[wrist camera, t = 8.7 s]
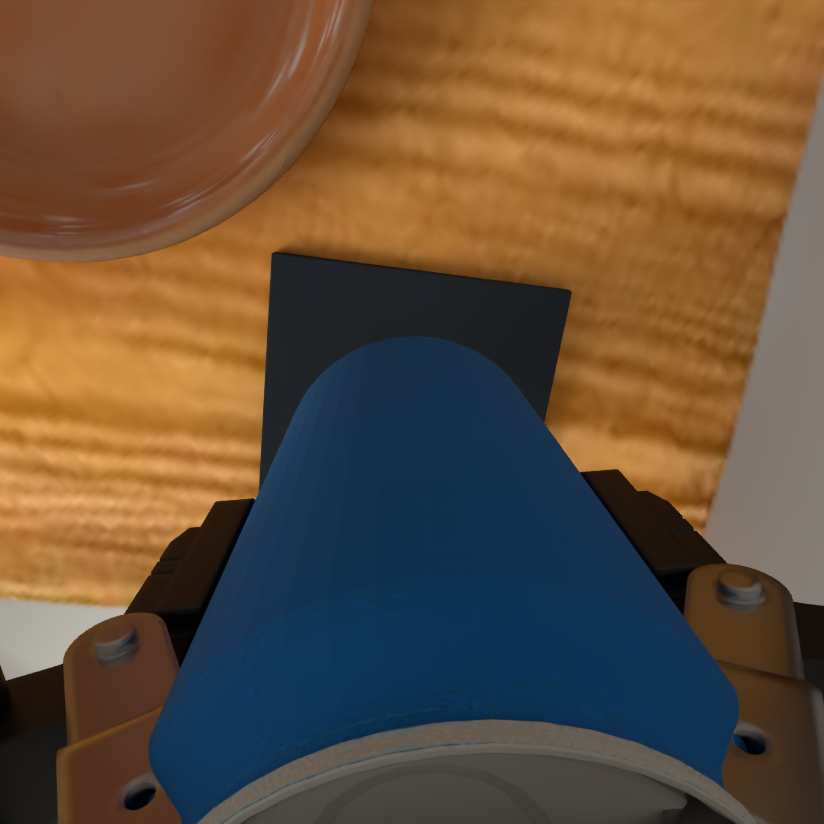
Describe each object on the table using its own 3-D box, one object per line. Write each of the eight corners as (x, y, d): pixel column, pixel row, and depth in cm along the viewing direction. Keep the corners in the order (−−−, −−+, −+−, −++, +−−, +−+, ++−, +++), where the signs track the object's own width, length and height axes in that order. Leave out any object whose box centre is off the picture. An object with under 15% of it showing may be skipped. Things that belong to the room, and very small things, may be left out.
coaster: (259, 520, 21) (256, 525, 20) (273, 251, 18) (271, 252, 17) (515, 544, 21) (517, 550, 21) (568, 289, 19) (572, 291, 18)
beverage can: (328, 574, 17) (218, 1263, 6) (259, 362, 15) (-106, 809, 4) (548, 525, 17) (863, 1148, 6) (509, 303, 15) (878, 599, 4)
